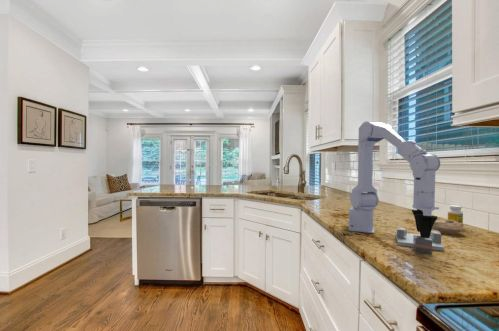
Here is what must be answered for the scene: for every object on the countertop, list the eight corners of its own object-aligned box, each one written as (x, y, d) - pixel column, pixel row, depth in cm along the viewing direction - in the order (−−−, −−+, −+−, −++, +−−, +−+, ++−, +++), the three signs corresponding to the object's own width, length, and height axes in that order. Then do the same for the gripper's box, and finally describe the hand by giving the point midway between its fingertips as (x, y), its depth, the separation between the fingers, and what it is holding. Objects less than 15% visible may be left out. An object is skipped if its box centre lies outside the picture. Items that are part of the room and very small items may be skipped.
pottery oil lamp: (423, 227, 117) (429, 213, 118) (455, 241, 112) (462, 226, 113) (427, 224, 110) (434, 209, 111) (462, 239, 104) (469, 222, 105)
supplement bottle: (450, 225, 124) (451, 204, 123) (464, 228, 119) (465, 206, 119) (445, 227, 121) (445, 205, 120) (459, 230, 116) (460, 207, 116)
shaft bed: (398, 245, 94) (398, 232, 94) (395, 235, 106) (395, 223, 106) (444, 251, 88) (444, 237, 88) (435, 239, 101) (435, 227, 101)
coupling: (414, 252, 87) (415, 238, 87) (412, 248, 91) (413, 234, 91) (432, 254, 85) (432, 240, 85) (429, 250, 89) (429, 236, 89)
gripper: (444, 195, 79) (443, 242, 79) (434, 190, 92) (433, 230, 93) (416, 193, 82) (414, 239, 82) (410, 189, 95) (409, 228, 95)
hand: (422, 234), depth 88 cm, fingers open, 7 cm apart
